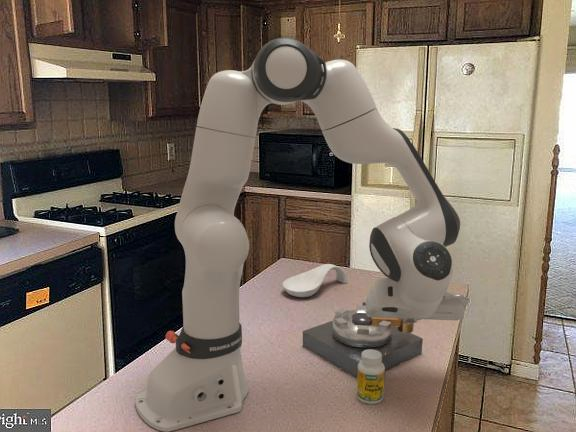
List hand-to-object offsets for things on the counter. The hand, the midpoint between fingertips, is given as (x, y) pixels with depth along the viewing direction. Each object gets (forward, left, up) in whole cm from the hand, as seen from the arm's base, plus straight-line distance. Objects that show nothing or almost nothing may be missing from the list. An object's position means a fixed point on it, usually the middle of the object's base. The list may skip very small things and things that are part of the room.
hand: (409, 319), depth 115 cm
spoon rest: (+13, +47, -11) cm, 50 cm away
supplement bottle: (-17, -5, -11) cm, 21 cm away
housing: (-4, +10, -10) cm, 15 cm away
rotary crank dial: (-3, +9, -6) cm, 11 cm away
